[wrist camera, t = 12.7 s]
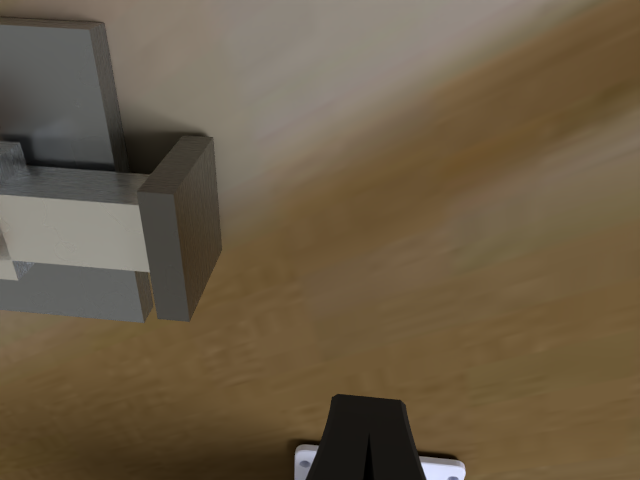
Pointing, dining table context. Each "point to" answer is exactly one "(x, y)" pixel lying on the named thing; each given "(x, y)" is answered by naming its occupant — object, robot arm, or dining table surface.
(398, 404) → the robot arm
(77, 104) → the grey square baseplate
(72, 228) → the square end dumbbell
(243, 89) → the dining table surface
